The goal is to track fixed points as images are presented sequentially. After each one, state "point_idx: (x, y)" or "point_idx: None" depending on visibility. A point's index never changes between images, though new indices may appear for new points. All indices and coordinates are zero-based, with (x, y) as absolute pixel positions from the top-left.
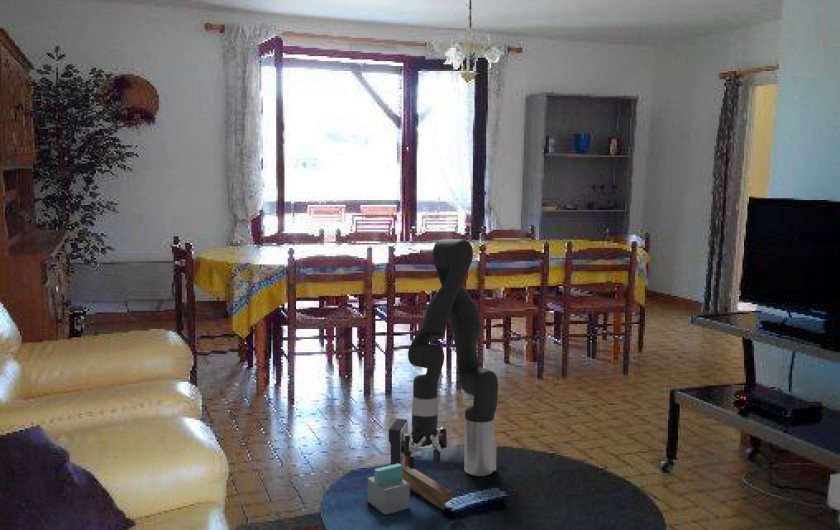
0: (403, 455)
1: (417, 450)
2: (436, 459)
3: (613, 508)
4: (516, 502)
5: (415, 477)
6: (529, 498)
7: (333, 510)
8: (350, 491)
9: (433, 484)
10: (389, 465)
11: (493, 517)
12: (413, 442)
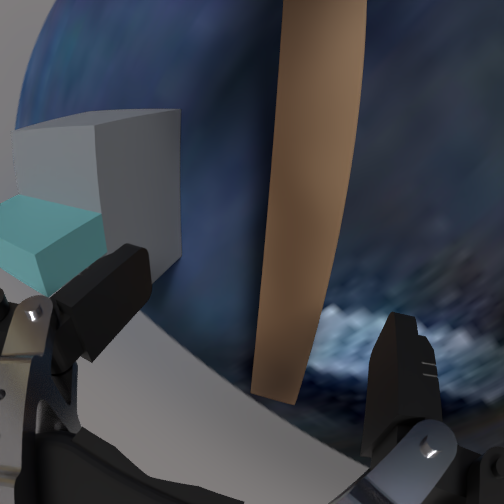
0: None
1: (79, 426)
2: (372, 380)
3: None
4: (456, 432)
5: (272, 173)
6: (490, 433)
7: (22, 118)
8: (87, 5)
9: (283, 325)
10: (1, 238)
11: (343, 436)
12: (6, 416)
